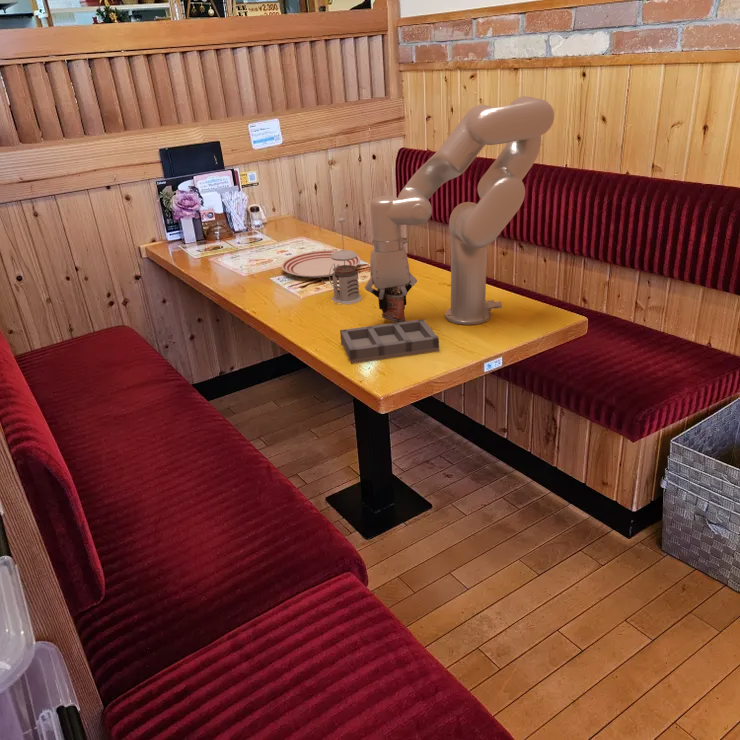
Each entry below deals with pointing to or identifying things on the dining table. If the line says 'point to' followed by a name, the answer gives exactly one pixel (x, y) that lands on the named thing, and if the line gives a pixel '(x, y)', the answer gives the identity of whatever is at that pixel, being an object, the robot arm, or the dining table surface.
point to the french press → (346, 284)
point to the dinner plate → (315, 264)
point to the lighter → (394, 305)
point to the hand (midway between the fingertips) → (393, 309)
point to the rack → (389, 341)
